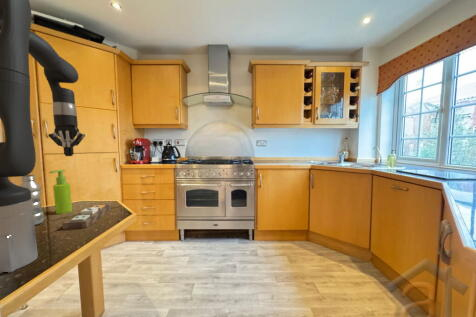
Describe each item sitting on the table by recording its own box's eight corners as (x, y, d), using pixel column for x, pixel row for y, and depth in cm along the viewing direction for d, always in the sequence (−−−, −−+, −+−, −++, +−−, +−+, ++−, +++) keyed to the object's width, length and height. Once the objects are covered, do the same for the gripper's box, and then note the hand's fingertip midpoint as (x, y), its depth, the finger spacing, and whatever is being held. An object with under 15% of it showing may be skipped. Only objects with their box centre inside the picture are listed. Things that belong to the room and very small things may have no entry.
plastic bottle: (49, 221, 85) (44, 174, 83) (31, 228, 78) (25, 177, 76) (35, 221, 85) (30, 174, 83) (16, 228, 78) (10, 177, 77)
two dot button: (84, 226, 79) (83, 218, 79) (71, 227, 79) (70, 219, 78) (90, 221, 84) (89, 214, 84) (78, 222, 83) (77, 215, 83)
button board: (86, 227, 78) (86, 221, 78) (63, 229, 77) (62, 223, 76) (111, 209, 99) (110, 204, 98) (92, 210, 97) (92, 205, 97)
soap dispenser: (50, 214, 93) (45, 171, 91) (66, 209, 100) (62, 168, 98) (59, 215, 91) (54, 171, 90) (75, 210, 98) (71, 169, 96)
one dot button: (100, 214, 92) (100, 207, 92) (89, 215, 91) (89, 208, 91) (105, 210, 97) (104, 204, 96) (94, 211, 96) (94, 205, 96)
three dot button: (92, 217, 86) (92, 210, 85) (81, 218, 85) (80, 211, 85) (98, 213, 90) (97, 206, 90) (87, 214, 89) (86, 207, 89)
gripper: (39, 113, 79) (44, 157, 81) (77, 113, 82) (81, 156, 83) (53, 115, 87) (57, 155, 88) (88, 115, 89) (91, 155, 91)
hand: (69, 156), depth 86 cm, fingers closed
